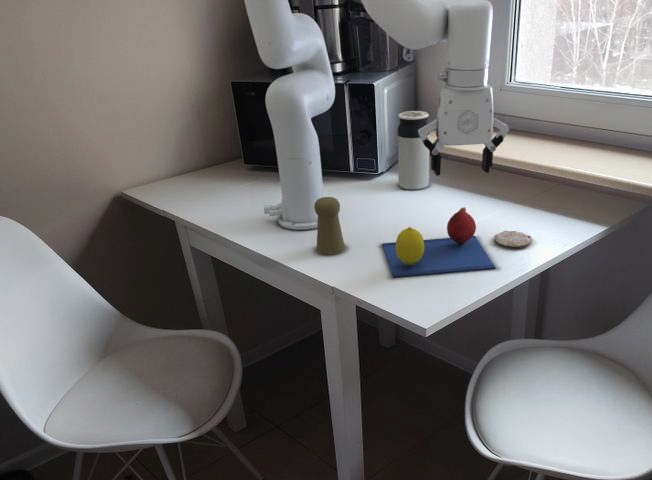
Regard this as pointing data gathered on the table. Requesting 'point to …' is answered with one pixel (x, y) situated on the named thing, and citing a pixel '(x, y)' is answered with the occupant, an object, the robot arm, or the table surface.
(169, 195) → the table surface
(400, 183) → the travel mug
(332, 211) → the olive pawn
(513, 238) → the flatbread
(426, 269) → the blue rectangular board
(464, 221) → the onion
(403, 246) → the lemon
